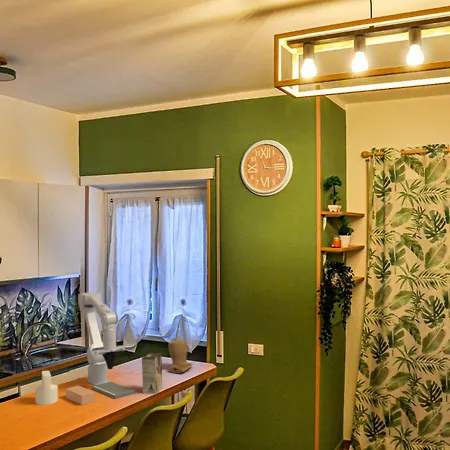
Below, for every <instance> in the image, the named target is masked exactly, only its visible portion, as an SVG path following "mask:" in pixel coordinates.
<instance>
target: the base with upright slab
mask: <svg viewBox="0 0 450 450" xmlns="http://www.w3.org/2000/svg"><path fill="white" fill-rule="evenodd" d="M58 389H59V388H58V385H57V384H53V383H52V375H51V372H50V370H42V371H41V384H40V385H39V386H36V387H35V404H36V405H39V406H48V405H51V404H54V403H56V402H58V400H59V396H58V395H59V394H58V393H59V391H58Z"/></svg>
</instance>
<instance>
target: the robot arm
mask: <svg viewBox="0 0 450 450" xmlns="http://www.w3.org/2000/svg"><path fill="white" fill-rule="evenodd" d="M77 299H78V300H77V301H78V306H79V310H80V312H82V313H83V314H84V320H85V323H86V328H87V331H88V336H89V341H90V345H89V346H88V348H87V350H86V355H87V357H86V359H87V362H88V364H89V365H88V367H87V380H86V383H89V384H91V385H92V386H95V385H99V384H103V383H107V382H112V381H111V380H109V379H108V370H112V369H113V367H114V363H115V361H116V358H117V356H118V352H123V351H125V349H126V348H125V345H117V329H116V328H117V324H118V323H119V317H118V314H117V311H114V310H113V311H112V310H111V309H110V308H109V306H108V305H107V304H106V303H103V301H102V295H101V292H100V291H92V292H79V294H78V296H77ZM96 314H97V315H98V317H99V318H100V324H101V329H102V338H101V334H100V330H99V326H98V321H97V317H96Z"/></svg>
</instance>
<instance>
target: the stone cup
mask: <svg viewBox="0 0 450 450" xmlns="http://www.w3.org/2000/svg"><path fill="white" fill-rule="evenodd" d="M167 345H168V347H167V348H168V353H169V354H170V357H171V361H172V365H171V366H169V367H168V368H167V370H168V371H170V372H171V373H173V374H181V373H183V372H185V371H187V370H189V369H190V368H192V367H193V366H194V365H193V363H190V362H187V355H188V343H187V341H186V340H185V339H182V340H173V341H169V342H168V344H167Z"/></svg>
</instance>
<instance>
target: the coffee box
mask: <svg viewBox="0 0 450 450" xmlns="http://www.w3.org/2000/svg"><path fill="white" fill-rule="evenodd" d="M162 354H163V353H159V352H158V353H152V352H151V353H150V352H149V353H147V354H146V355H144V356H143V357H142V358H141V362H142V363H141V365H142V366H141V368H142V369H141V372H142V374H141V375H142V394H146V395H147V394H148V395H157V394H158V393H160V391H161V390H162V389H163V364H162V362H163V359H162Z"/></svg>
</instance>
